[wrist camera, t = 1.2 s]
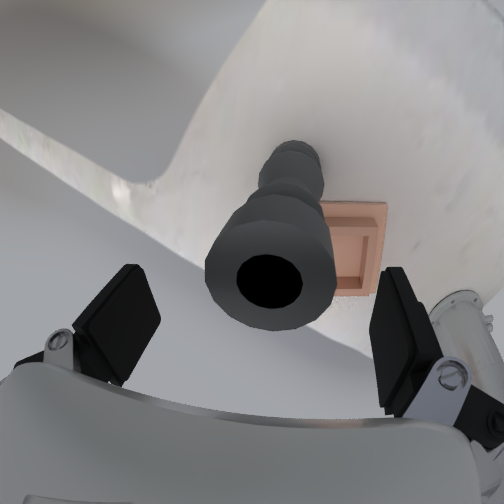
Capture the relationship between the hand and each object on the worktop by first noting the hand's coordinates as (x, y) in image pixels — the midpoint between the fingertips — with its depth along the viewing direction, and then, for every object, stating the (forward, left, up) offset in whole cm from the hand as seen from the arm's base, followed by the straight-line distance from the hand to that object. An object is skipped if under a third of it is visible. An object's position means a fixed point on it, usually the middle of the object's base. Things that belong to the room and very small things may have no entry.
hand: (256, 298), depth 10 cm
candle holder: (0, 0, -27) cm, 27 cm away
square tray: (-5, +12, -26) cm, 29 cm away
